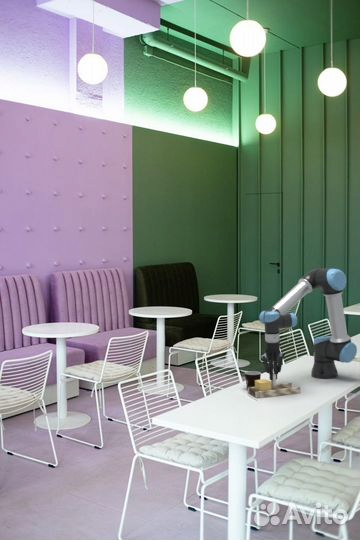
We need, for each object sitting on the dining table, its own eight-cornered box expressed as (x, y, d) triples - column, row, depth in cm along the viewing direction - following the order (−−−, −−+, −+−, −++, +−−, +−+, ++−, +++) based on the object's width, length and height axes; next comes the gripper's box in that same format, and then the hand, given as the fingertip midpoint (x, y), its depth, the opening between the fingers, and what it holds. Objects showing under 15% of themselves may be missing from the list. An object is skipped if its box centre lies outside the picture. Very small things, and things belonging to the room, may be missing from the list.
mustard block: (265, 392, 327) (265, 379, 326) (271, 395, 320) (271, 382, 320) (255, 393, 325) (254, 380, 324) (260, 396, 318) (260, 383, 318)
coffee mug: (260, 393, 329) (260, 374, 328) (244, 393, 331) (244, 374, 330) (262, 388, 340) (261, 370, 340) (246, 387, 342) (246, 369, 342)
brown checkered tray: (290, 390, 334) (289, 382, 334) (300, 395, 322) (300, 387, 322) (247, 395, 326) (247, 387, 326) (257, 400, 315) (256, 392, 315)
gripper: (264, 343, 317) (265, 389, 319) (287, 341, 321) (288, 386, 323) (257, 341, 324) (259, 385, 326) (280, 339, 328) (281, 383, 330)
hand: (273, 385), depth 324 cm, fingers closed
